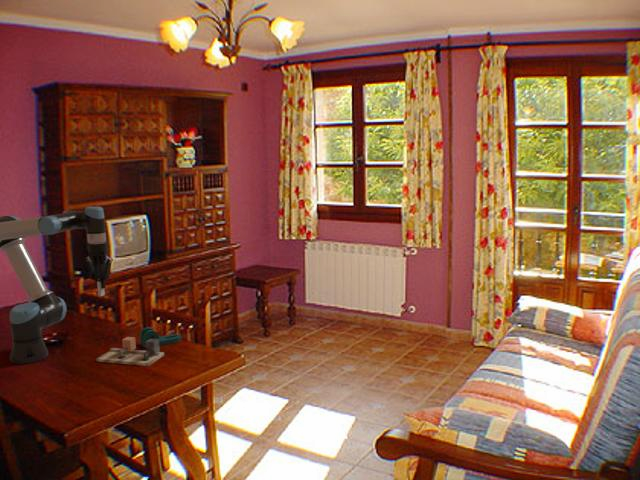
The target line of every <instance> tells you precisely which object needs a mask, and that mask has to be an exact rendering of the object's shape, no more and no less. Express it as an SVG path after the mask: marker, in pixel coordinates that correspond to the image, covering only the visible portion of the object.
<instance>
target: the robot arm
mask: <svg viewBox="0 0 640 480" xmlns="http://www.w3.org/2000/svg"><path fill="white" fill-rule="evenodd" d="M105 218H106V216H105V212H104V208H103V207H102V206H98V205H97V206H87V207H85V208H84V211H83V210H82V211H81V210H80V211H79V210H67V211H65V210H64V211H62V213H59V214H51V215H46V216H38V217H32V218H22V219H21V218H20V217H17V216H16V215H3V216H0V251H2V252H4V253H5V255H6V257H7V259H8V261H9V263H10V264H11V266H12V268H13V270H14V272H15V274H16V276H17V278H18V279H19V282H20V284H21V286H22V288H23V289H24V291H25V293H26V295H27V297H28V301H27V302H25V303H21V304H18V305H15V306H14V307H12V308H11V309H10V311H9V322H10V331H11V339H12V345H11V350H10V354H9V361H10V363H12V364H16V365H17V364H18V365H19V364H20V365H22V364H32V363H36V362H39V361H42V360H45V359H46V358H47V357H48V356H49V349H48V348H47V346H46V343H45V341H44V339H43V335H42V333H43V332H42V330H43V329H46V328H48V327H50V326H52V325H56V324H58V323H59V322H61V321H63V320H64V319H65V317H66V314H67V311H68V310H67V304H66V302H65V300H64V299H63V298H61V297H60V296H56V295H55V293H54V291H52V290H48V287H47V285H46V283H45V282H44V279H43V277H42V276H41V274H40V272H39V269H38V268H37V266H36V264H35V262H34V261H33V258H32V257H31V255H30V253H29V251H28V249H27V247H26V245H25V243H26V238H29V237H35V236H43V235H44V236H45V235H47V236H49V235H50V236H51V235H56V234H59V233H63V232H68V231H71V230H76V229H77V230H78V229H79V230H80V229H82V230H86V236H87V243H88V244H87V249H88V251H87V252H89V253H88V256H87V257H86V258H83V260H84V262H85V264H86V267H87V270H88V273H89V277H90V280H92V281H94V282H95V288H96V289H97V297H103V296H105V295H106V292H105V289H106V281H107V280H109V279H110V274H111V268H112V262H113V260H114V258H110V256H108V252H107V251H108V247H107V236H106V235H107V233H106V228H105V227H106V223H105V222H106V221H105Z"/></svg>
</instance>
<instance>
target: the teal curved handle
mask: <svg viewBox="0 0 640 480" xmlns="http://www.w3.org/2000/svg"><path fill="white" fill-rule="evenodd" d="M139 337H140V345H141V346H142V347H143V349H145V348H146V341H148V340H149V339H159V347H160V346H166V345H172V344H176V343H180V342H182V335H181V334H179V333H173V334H171V333H170V334H167V335H161V336H160V334H159V333H158V332H157V331H156V330H155V329H154V328H152V327H150V326H148V327H144V328H143V329H141V331H140V333H139Z"/></svg>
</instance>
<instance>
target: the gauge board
mask: <svg viewBox="0 0 640 480" xmlns="http://www.w3.org/2000/svg"><path fill="white" fill-rule="evenodd" d="M122 349H123V348H117V347H116V348H115V347H111V348H110V349H109V351H107V352H106V353H104V354H102V355H100V356H98V357H97V358H96V362H99V363H110V364H111V363H112V364H120V365H122V364H123V365H132V366H133V365H134V366H144V367H149V366H151V365H152V364H154V363H155V362H157V361H158V360H160V359H161V358H162V357H164V356H165V352H164V351H162V352H161V351H160V346H159V339H149V340H148V341H146V349H145V350H140V349H134V350H132V351H124V352H123V353H122V357H120V352H119V351H121V350H122Z"/></svg>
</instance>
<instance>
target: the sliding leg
mask: <svg viewBox="0 0 640 480" xmlns="http://www.w3.org/2000/svg"><path fill="white" fill-rule="evenodd" d="M121 343H122V348H121V349H122V350H121V351H119V352H120V357H122V353H123V352H124V351H132V350H137V346H136V345H137V344H136V337H135V336H134V337H132V336H126V337H124V338H123V339H121Z"/></svg>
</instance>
